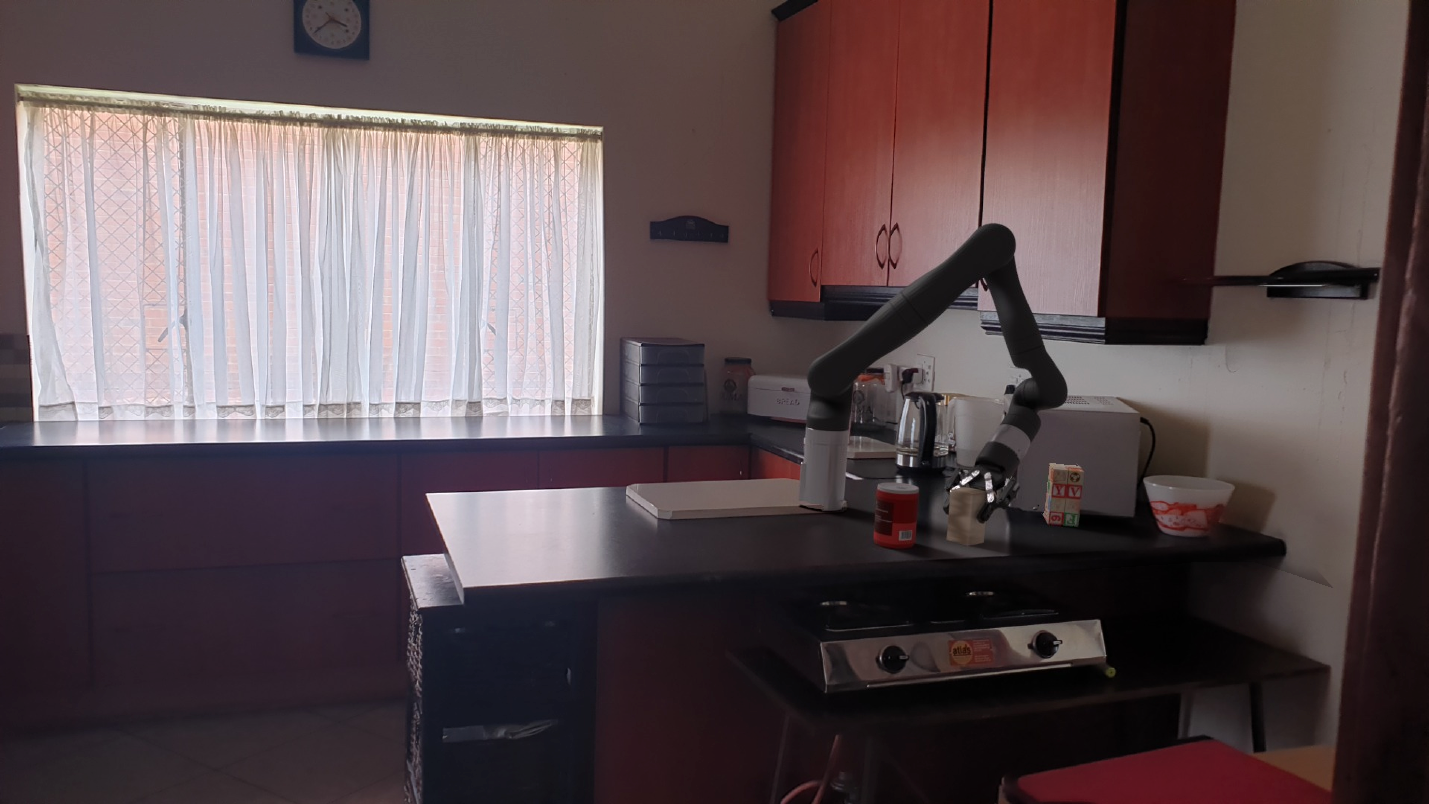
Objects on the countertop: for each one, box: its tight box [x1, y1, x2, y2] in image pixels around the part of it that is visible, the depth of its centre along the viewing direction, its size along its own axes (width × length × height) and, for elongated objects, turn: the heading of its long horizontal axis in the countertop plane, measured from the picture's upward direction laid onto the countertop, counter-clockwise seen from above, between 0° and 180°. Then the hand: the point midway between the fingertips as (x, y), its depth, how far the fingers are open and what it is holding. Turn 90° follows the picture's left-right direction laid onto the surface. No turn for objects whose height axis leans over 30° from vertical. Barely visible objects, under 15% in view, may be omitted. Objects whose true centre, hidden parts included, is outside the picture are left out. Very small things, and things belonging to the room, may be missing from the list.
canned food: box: [873, 482, 920, 550], centre depth 186 cm, size 8×8×11 cm
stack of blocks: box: [1042, 463, 1085, 528], centre depth 220 cm, size 21×6×12 cm, turn 169°
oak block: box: [946, 486, 988, 547], centre depth 191 cm, size 5×5×10 cm
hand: (962, 516), depth 190 cm, fingers open, 7 cm apart
